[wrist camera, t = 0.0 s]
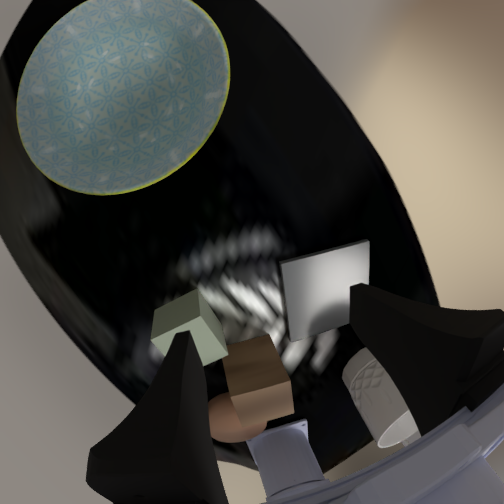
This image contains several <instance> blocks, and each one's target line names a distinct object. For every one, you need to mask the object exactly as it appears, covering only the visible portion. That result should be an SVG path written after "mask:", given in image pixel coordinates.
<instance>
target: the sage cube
mask: <svg viewBox="0 0 504 504" xmlns="http://www.w3.org/2000/svg"><path fill="white" fill-rule="evenodd" d="M187 330H190V332H191V334H192V337H193V340H194V343H195V345H196V348H197V351H198V353H199V356H200V358H201V361H202V363H203V366H205V365H207V364H209V363H212V362H214V361H216V360H218V359H221V358H223V357H225V356H227V355H228V351H227V346H226V342H225V338H224V333H223V329H222V324H221V323H220V321H219V320H218V318H217V317H216V315H215V314H214V312H213V311H212V309H211V308H210V306H209V305H208V303H207V302H206V300H205V299H204V297H203V296H202V294H201V292H200V291H199V289H198V288H197V289H195V290H193V291H191V292H189V293H187V294H185V295H183V296H181V297H179V298H177V299H175V300H173V301H171V302H169V303H167V304H165V305H163V306H161V307H159V308H157V309H155V311H154V318H153V325H152V333H151V341H152V342H153V343H154V345H155V346H156V347H157V348H158V349H159V350H160V352H161V353H162V354H163V355H164V356H166V354H167V352H168V350H169V347H170V345H171V342H172V340H173V338H174V335H175V334H176V333H178V332H183V331H187Z"/></svg>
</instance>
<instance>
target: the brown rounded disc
mask: <svg viewBox="0 0 504 504" xmlns="http://www.w3.org/2000/svg"><path fill="white" fill-rule="evenodd" d="M208 411H209V423H210V432H211V437H213V438H214V439H216V440H218V441H222V442H228V443H234V442H242V441H246V440H249V439H252V438H254V437H256V436H258V435H259V434H260V433H262V432H263V431H264V429H265V428H266V425H267V421H265V422H262V423H258V424H254V425H250V426H246V427H242V426H241V423H240V421H239V418H238V416H237V413H236V410H235V408H234V405H233V403H232V400H231V397H230V393H229V392H226V393H223V394H220V395H218V396H216V397H214V398H213V399H211V400H210V401H209V402H208Z"/></svg>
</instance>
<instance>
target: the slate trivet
mask: <svg viewBox="0 0 504 504" xmlns="http://www.w3.org/2000/svg"><path fill="white" fill-rule="evenodd" d="M279 263H280V270H281V278H282V285H283V293H284V300H285V308H286V316H287V324H288V332H289V340H290V342H295V341H298V340H301V339H304V338H307V337H311V336H314V335H317V334H320V333H323V332H326V331H329V330H332V329H334V328H337V327H340V326H343V325H346V324H349V307H350V286H352V285H355V284H358V283H364V284H368V285H369V241H368V240H367V239H365V240H361V241H357V242H354V243H350V244H346V245H342V246H338V247H334V248H331V249H327V250H323V251H319V252H315V253H311V254H307V255H303V256H300V257H296V258H292V259H288V260H284V261H280V262H279Z"/></svg>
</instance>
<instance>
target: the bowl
mask: <svg viewBox="0 0 504 504" xmlns="http://www.w3.org/2000/svg"><path fill="white" fill-rule="evenodd" d="M229 84H230V62H229V55H228V50H227V47H226V43H225V41H224V38H223V36H222V34H221V32H220V30H219V28H218V27H217V26H216V24H215V23H214V21H213V20H212V19H211V18H210V16H209V15H208V14H207V13H206V12H205V11H204V10H203V9H202V8H200V7H199V6H198V5H197V4H195V3H194V2H192V1H191V0H88V1H86V2H84V3H82V4H80V5H79V6H77V7H75V8H74V9H72V10H71V11H70V12H68V13H67V14H66V15H64V16H63V17H62V18H61V19H60V20H59V21H57V22H56V23H55V24H54V25H53V26H52V27H51V28H50V29H49V31H48V32H47V33H46V34H45V35H44V36H43V38H42V39H41V40H40V42H39V43H38V45H37V46H36V47H35V49H34V51H33V52H32V54H31V56H30V58H29V60H28V62H27V64H26V67H25V69H24V72H23V75H22V78H21V81H20V85H19V90H18V96H17V108H16V112H17V114H16V115H17V125H18V130H19V134H20V138H21V141H22V144H23V146H24V148H25V150H26V152H27V154H28V155H29V157H30V159H31V161H32V162H33V163H34V164H35V166H36V167H37V168H38V169H39V170H40V171H41V172H42V173H43V174H44V175H46V176H47V177H48V178H49V179H50V180H52V181H54V182H55V183H57V184H59V185H61V186H63V187H65V188H67V189H70V190H73V191H76V192H80V193H85V194H92V195H114V194H121V193H126V192H130V191H134V190H138V189H141V188H144V187H147V186H149V185H151V184H154V183H156V182H158V181H160V180H162V179H163V178H165V177H167V176H169V175H170V174H171V173H173V172H174V171H176V170H178V169H179V168H180V167H181V166H183V165H184V164H185V163H186V162H187V161H189V160H190V159H191V158H192V157H193V156H194V155H195V154H196V153H197V152H198V150H199V149H200V148H201V147H202V146H203V145H204V143H205V142H206V141H207V139H208V138H209V136H210V135H211V133H212V132H213V130H214V128H215V127H216V125H217V123H218V121H219V118H220V116H221V114H222V111H223V109H224V106H225V103H226V99H227V95H228V90H229Z"/></svg>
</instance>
